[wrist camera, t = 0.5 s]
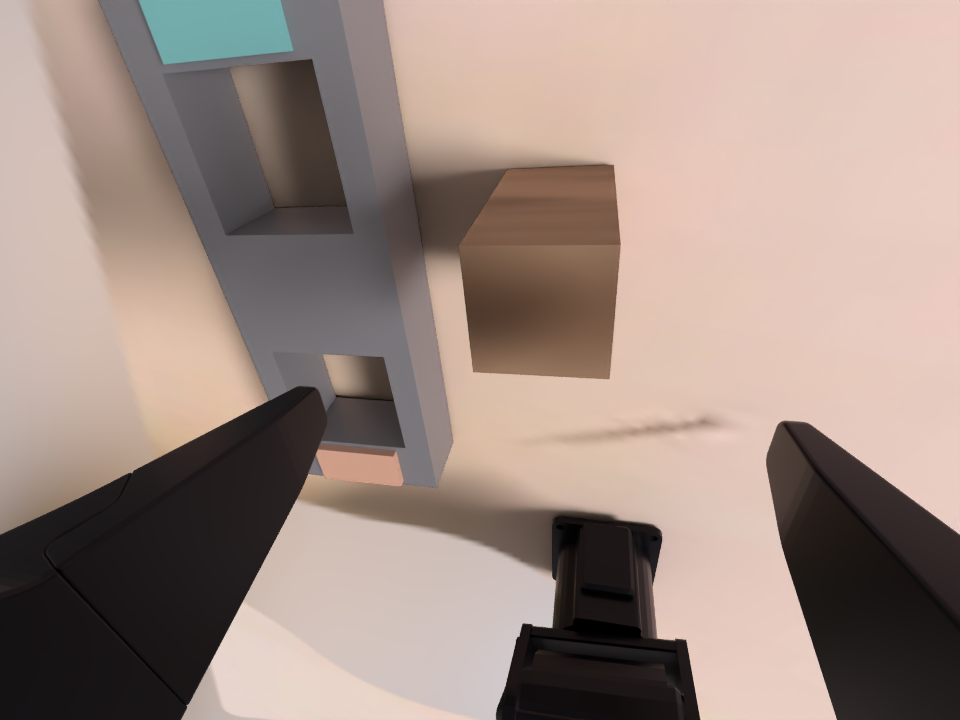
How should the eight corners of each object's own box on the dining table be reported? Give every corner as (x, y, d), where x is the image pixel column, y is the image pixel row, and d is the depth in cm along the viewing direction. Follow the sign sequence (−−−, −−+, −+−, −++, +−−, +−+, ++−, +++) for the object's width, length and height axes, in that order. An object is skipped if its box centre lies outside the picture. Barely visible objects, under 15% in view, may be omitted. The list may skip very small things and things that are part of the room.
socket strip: (453, 441, 28) (434, 494, 25) (329, 430, 30) (297, 478, 27) (374, -51, 16) (318, -69, 12) (169, -20, 17) (74, -29, 14)
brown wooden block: (607, 265, 20) (609, 378, 14) (512, 265, 21) (473, 372, 15) (613, 165, 18) (620, 244, 11) (507, 169, 19) (458, 245, 12)
